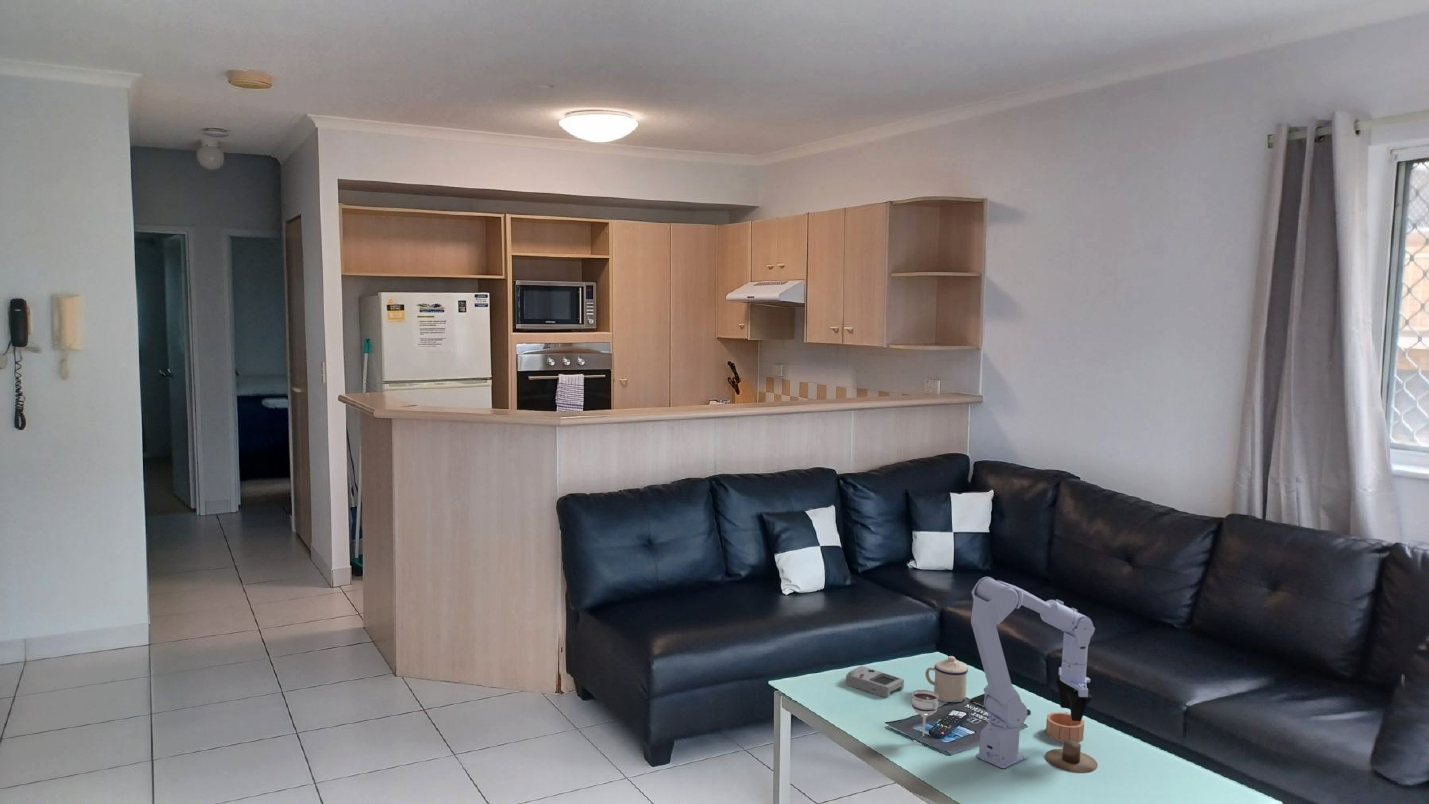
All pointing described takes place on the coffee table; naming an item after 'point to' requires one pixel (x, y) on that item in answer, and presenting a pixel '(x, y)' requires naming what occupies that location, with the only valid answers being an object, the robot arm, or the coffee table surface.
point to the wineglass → (924, 704)
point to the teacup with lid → (949, 679)
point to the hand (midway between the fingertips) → (1070, 713)
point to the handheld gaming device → (874, 681)
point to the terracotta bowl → (1064, 727)
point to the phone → (980, 700)
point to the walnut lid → (1071, 758)
